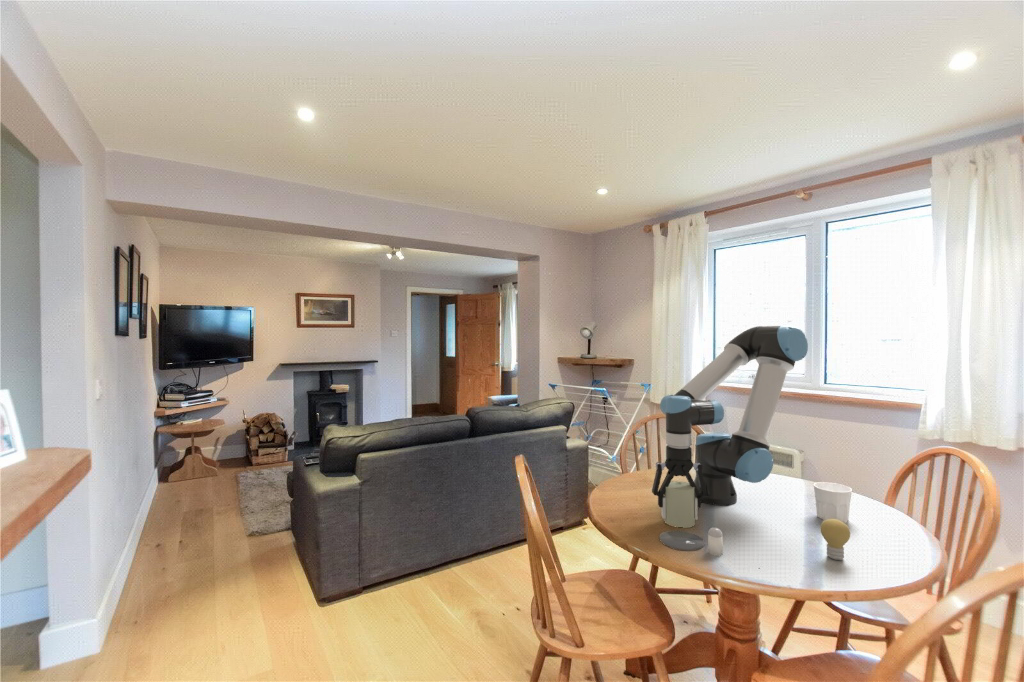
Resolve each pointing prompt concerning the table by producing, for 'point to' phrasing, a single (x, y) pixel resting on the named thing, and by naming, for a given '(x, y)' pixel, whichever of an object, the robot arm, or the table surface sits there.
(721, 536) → the salt shaker
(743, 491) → the table surface
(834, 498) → the cup
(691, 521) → the can
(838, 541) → the light bulb
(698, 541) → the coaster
